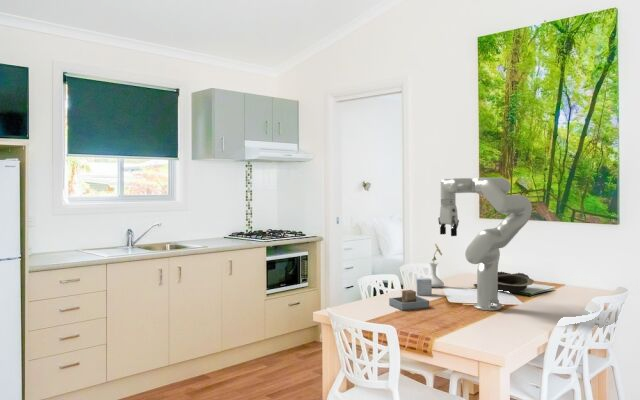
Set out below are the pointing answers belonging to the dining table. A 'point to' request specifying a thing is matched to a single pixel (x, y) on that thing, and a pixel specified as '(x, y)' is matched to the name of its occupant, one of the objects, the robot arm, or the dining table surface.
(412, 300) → the walnut block
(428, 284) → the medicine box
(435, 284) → the flower in vase
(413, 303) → the tray
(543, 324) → the dining table surface
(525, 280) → the stone bowl
